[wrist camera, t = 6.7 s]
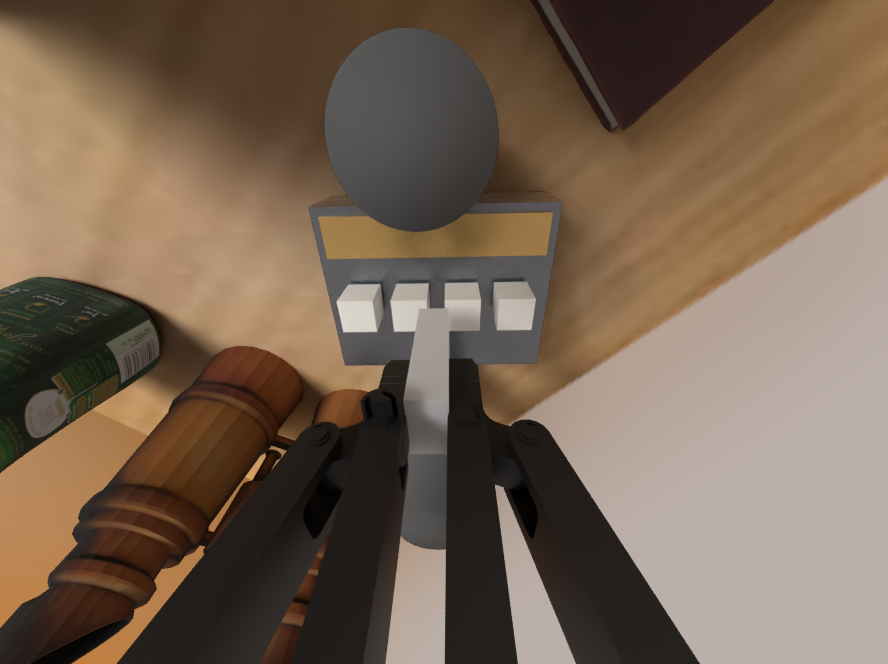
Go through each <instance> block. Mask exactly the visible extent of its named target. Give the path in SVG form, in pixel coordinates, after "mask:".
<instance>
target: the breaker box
mask: <svg viewBox="0 0 888 664" xmlns="http://www.w3.org/2000/svg"><path fill="white" fill-rule="evenodd" d="M562 203H563V202H562V201H560V200H558V199H557V198H555V197H553V196H551V195H550V194H548V193H546V192H544V191H536V192H492V193H482V195H481V196H480V198H479V199H478V200H477V202H476V203H475V204H474V205H473V206H472V208H471V209H469V210H468V211H467V212H466V213H465V214H464V215H463V216H461V217H460V218H459V219H457V220H456V221H454V222H452V223H450V224H448V225H447V226H444V227H441V228H438V229H435V230H431V231H424V232H407V231H402V230H397V229H394V228H391V227H388V226H385V225H383V224H381V223H379V222H377V221H376V220H374V219H372V218H371V217H369V216H368V215H367V214H366V213H364V212H363V211H362V210H361V209H360V208H359V207H358V206H357V205H356V204H355V203H354V202H353V201H352V200H351V199H350V197H349V196H330V197H328V198H326V199H324V200H322V201H320V202H318V203H316V204H314V205H312V206H310V207H308V208H309V212H310V217H311V221H312V225H313V230H314V234H315V238H316V243H317V247H318V251H319V255H320V260H321V264H322V268H323V273H324V277H325V281H326V285H327V290H328V294H329V298H330V303H331V307H332V311H333V316H334V320H335V324H336V328H337V333H338V337H339V341H340V346H341V350H342V354H343V358H344V363H345V365H387V364H388V363H389V362H390V361H391V360H410V359H411V353H412V347H413V341H414V336H415V331H408V332H394V326H393V318H392V310H391V302H390V300H391V298H392V295H393V292H394V289H395V287H396V284H416V283H429V297H430V309H436V308H445V283H478V287H479V292H480V297H481V310H480V331H449V349H450V359H458V358H472V359H473V360H474V362H475V363H476V364H537V357H538V351H539V345H540V339H541V333H542V326H543V320H544V314H545V308H546V302H547V295H548V289H549V283H550V277H551V271H552V265H553V258H554V252H555V246H556V240H557V234H558V227H559V221H560V215H561V209H562ZM494 282H527V283H528V285H529V287H530V289H531V291H532V292H533V294H534V296H535V298H536V301H535V308H534V316H533V323H532V330H497V329H496V325H495V321H494V317H493V313H492V305H493V289H494ZM353 284H380V285H381V292H382V299H383V307H384V315H383V318H382V320H381V323H380V326H379V328H378V331H377V332H343V328H342V324H341V319H340V315H339V310H338V306H337V300H338V299H339V297H340V296H341V294H342V293H343V292H344V290H345V289H346V287H347V286H348V285H353Z"/></svg>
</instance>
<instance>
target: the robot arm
mask: <svg viewBox="0 0 888 664" xmlns="http://www.w3.org/2000/svg"><path fill="white" fill-rule="evenodd" d="M360 404H361V409H362V413H363V418H364V420H363V421H361V422H360V423H358V424H355V425H352V426H349V427H345V428H341V429H339V428H338V426H337V425H336V424H334V423H332V422H319V423H315V424H313V425H311V426H309V427H308V428H306V429H305V430H304V431H303V432H302V433H301V434H300V435H299V437H298V438H297V439H296V440H295V442H294V443H293V444H292V445H291V447H290V448H289V449H288V450H287V452H286V453H285V454H284V455H283V457H282V458H281V459H280V460H279V462H278V463H277V464H276V465H275V467H274V468H273V469H272V470H271V472H270V473H269V474H268V475H267V477H266V478H265V479H264V480H263V482H262V483H261V484H260V485H259V487H258V488H257V489H256V490H255V492H254V493H253V494H252V495H251V497H250V498H249V499H248V500H247V502H246V503H245V504H244V505H243V507H242V508H241V509H240V510H239V512H238V513H237V514H236V515H235V517H234V518H233V519H232V520H231V522H230V523H229V524H228V525H227V527H226V528H225V529H224V530H223V532H222V533H221V534H220V535H219V537H218V538H217V539H216V540H215V542H214V543H213V544H212V545H211V547H210V548H209V549H208V550H207V552H206V553H205V554H204V555H203V557H202V558H201V559H200V560H199V562H198V563H197V564H196V565H195V567H194V568H193V569H192V570H191V572H190V573H189V574H188V575H187V577H186V578H185V579H184V580H183V582H182V583H181V584H180V585H179V587H178V588H177V589H176V590H175V592H174V593H173V594H172V595H171V597H170V598H169V599H168V600H167V602H166V603H165V604H164V605H163V607H162V608H161V609H160V610H159V612H158V613H157V614H156V615H155V617H154V618H153V619H152V620H151V622H150V623H149V624H148V625H147V627H146V628H145V629H144V630H143V632H142V633H141V634H140V635H139V637H138V638H137V639H136V640H135V642H134V643H133V644H132V645H131V647H130V648H129V649H128V650H127V652H126V653H125V654H124V655H123V657H122V658H121V659H120V660H119V662H118V663H117V664H259V663H260V661H261V659H262V657H263V656H264V654H265V652H266V650H267V648H268V646H269V644H270V642H271V640H272V639H273V637H274V635H275V633H276V631H277V629H278V627H279V625H280V623H281V622H282V620H283V618H284V616H285V614H286V612H287V610H288V608H289V607H290V605H291V603H292V601H293V599H294V597H295V595H296V593H297V591H298V590H299V588H300V586H301V584H302V582H303V580H304V578H305V576H306V575H307V573H308V571H309V569H310V567H311V565H312V563H313V561H314V559H315V558H316V556H317V554H318V552H319V550H320V548H321V546H322V544H323V542H324V541H325V539H326V537H327V535H328V533H329V531H330V529H331V532H330V535H329V538H328V542H327V545H326V548H325V552H324V555H323V558H322V562H321V565H320V568H319V572H318V575H317V578H316V582H315V585H314V589H313V592H312V595H311V599H310V602H309V605H308V609H307V612H306V615H305V619H304V622H303V625H302V629H301V632H300V635H299V639H298V642H297V645H296V649H295V652H294V655H293V659H292V662H291V664H385V662H386V653H387V645H388V635H389V628H390V620H391V611H392V603H393V594H394V586H395V578H396V570H397V561H398V553H399V544H400V536H401V528H402V519H403V511H404V503H405V494H406V486H407V477H408V469H409V467H408V451H409V452H410V454H447V503H446V603H445V607H446V608H445V609H446V612H445V664H518V662H517V654H516V647H515V638H514V630H513V623H512V616H511V607H510V599H509V591H508V584H507V576H506V569H505V560H504V553H503V545H502V537H501V530H500V522H499V514H498V506H497V498H496V490H495V484H496V485H499V486H502V487H504V490H505V493H506V495H507V497H508V500H509V502H510V505H511V507H512V510H513V512H514V514H515V517H516V519H517V521H518V524H519V527H520V528H521V531H522V533H523V536H524V539H525V541H526V543H527V545H528V548H529V550H530V553H531V556H532V558H533V560H534V563H535V565H536V568H537V570H538V572H539V575H540V577H541V580H542V582H543V585H544V587H545V589H546V592H547V594H548V597H549V599H550V601H551V604H552V606H553V609H554V611H555V614H556V616H557V618H558V621H559V623H560V625H561V628H562V630H563V633H564V635H565V638H566V640H567V642H568V645H569V647H570V650H571V652H572V655H573V657H574V659H575V662H576V664H700V663H699V662H698V660H697V659H696V657H695V656H694V654H693V653H692V651H691V649H690V648H689V646H688V645H687V643H686V642H685V640H684V639H683V637H682V636H681V634H680V632H679V631H678V630H677V628H676V626H675V625H674V623H673V622H672V620H671V619H670V617H669V616H668V614H667V612H666V611H665V609H664V608H663V606H662V605H661V603H660V602H659V600H658V599H657V597H656V595H655V594H654V593H653V591H652V589H651V588H650V586H649V585H648V583H647V582H646V580H645V579H644V577H643V576H642V574H641V572H640V571H639V569H638V568H637V566H636V565H635V563H634V562H633V560H632V559H631V557H630V555H629V554H628V552H627V551H626V550H625V548H624V546H623V545H622V543H621V542H620V540H619V539H618V537H617V535H616V534H615V532H614V531H613V529H612V528H611V526H610V525H609V523H608V522H607V520H606V519H605V517H604V515H603V514H602V512H601V511H600V509H599V508H598V506H597V505H596V503H595V502H594V500H593V498H592V497H591V495H590V494H589V492H588V491H587V489H586V488H585V486H584V485H583V483H582V482H581V480H580V479H579V477H578V475H577V474H576V472H575V471H574V469H573V468H572V466H571V465H570V463H569V462H568V460H567V458H566V457H565V455H564V454H563V452H562V451H561V449H560V448H559V446H558V445H557V443H556V442H555V440H554V438H553V437H552V435H551V434H550V432H549V431H548V430H547V429H546V428H545V427H544V426H543V425H541V424H540V423H538V422H536V421H532V420H519V421H517V422H514V423H513V424H512V425H511V426H507V425H504V424H500V423H497V422H495V421H493V420H492V419H490V418H489V417H488V416H487V415H486V414H485V412H484V410H483V405H482V397H481V389H480V383H479V373H478V366H477V364H476V363H475V362H474V360H473V359H472V358H458V359H450V349H449V308H436V309H419V313H418V319H417V324H416V330H415V336H414V341H413V347H412V353H411V359H410V360H391V361H390V362H389V363H388V364H387V365H386V366H385V367H384V370H383V374H382V378H381V381H380V385H379V388H378V389H375V390H373V391H370V392H368V393H367V394H366V395H365V396H363V398H362V399H361V401H360ZM331 527H332V528H331Z"/></svg>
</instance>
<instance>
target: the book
mask: <svg viewBox="0 0 888 664" xmlns="http://www.w3.org/2000/svg"><path fill="white" fill-rule="evenodd" d="M773 1H774V0H531V2H532V4H533V5H534V7H535V9H536V11H537V12H538V14H539V16H540V18H541V20H542V22H543V24H544V26H545V28H546V29H547V31H548V33H549V35H550V36H551V37H552V39H553V41H554V43H555V45H556V47H557V49H558V50H559V52H560V54H561V56H562V57H563V59H564V61H565V62H566V64H567V65H568V67H569V68H570V70H571V71H572V73H573V75H574V77H575V79H576V81H577V83H578V85H579V87H580V88H581V90H582V92H583V94H584V95H585V97H586V98H587V100H588V102H589V103H590V105H591V106H592V108H593V110H594V111H595V113H596V115H597V116H598V118H599V120H600V121H601V123H602V125H603V126H604V127H605V128H606V129H607V130H608V131H609V132H611V131H614V130H616V128H617V127H618V125H619V126H620V128H621V130H622V131H623V130H624V129H626V128H627V127H629V126H630V125H632V124H634V123H635V122H636V121H637V120H638V119H639V118H640V117H641V116H642V115H643V114H644V113H645V112H646V111H648V110H649V109H650V108H651V107H652V106H653V105H655V104H656V103H657V102H658V101H659V100H660V99H662V98H663V97H664V96H665V95H666V94H667V93H669V92H670V91H671V90H672V89H673V88H674V87H675V86H677V85H678V84H679V83H680V82H681V81H682V80H683V79H684V78H686V77H687V76H688V75H689V74H690V73H691V72H692V71H694V70H695V69H696V68H697V67H698V66H699V65H700V64H702V63H703V62H704V61H705V60H706V59H707V58H708V57H710V56H711V55H712V54H713V53H714V52H715V51H716V50H717V49H719V48H720V47H721V46H722V45H723V44H725V43H726V42H727V41H728V40H729V39H730V38H731V37H733V36H734V35H735V34H736V33H737V32H738V31H739V30H741V29H742V28H743V27H744V26H745V25H746V24H748V23H749V22H750V21H751V20H752V19H754V18H755V17H756V16H757V15H758V14H759V13H761V12H762V11H763V10H764V9H765V8H766V7H768V6H769V5H770V4H771V3H772V2H773Z"/></svg>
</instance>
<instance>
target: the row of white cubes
mask: <svg viewBox="0 0 888 664" xmlns="http://www.w3.org/2000/svg"><path fill="white" fill-rule="evenodd" d="M535 301H536V298H535V296H534V294H533V292H532V291H531V289H530V287H529V285H528V283H527V282H494V289H493V305H492V313H493V317H494V321H495V325H496V329H497V330H532V323H533V316H534V308H535ZM390 302H391V310H392V318H393V326H394V332H408V331H415V330H416V324H417V319H418V313H419V309H430V297H429V283H416V284H396V287H395V289H394V292H393V295H392V298H391V300H390ZM337 306H338V310H339V315H340V319H341V324H342V328H343V332H377V331H378V328H379V326H380V323H381V320H382V318H383V315H384V307H383V299H382V292H381V285H380V284H353V285H348V286H347V287H346V289H345V290H344V292H343V293H342V294H341V296H340V297H339V299H338V300H337ZM445 308H449V331H480V310H481V297H480V292H479V287H478V283H445Z"/></svg>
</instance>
